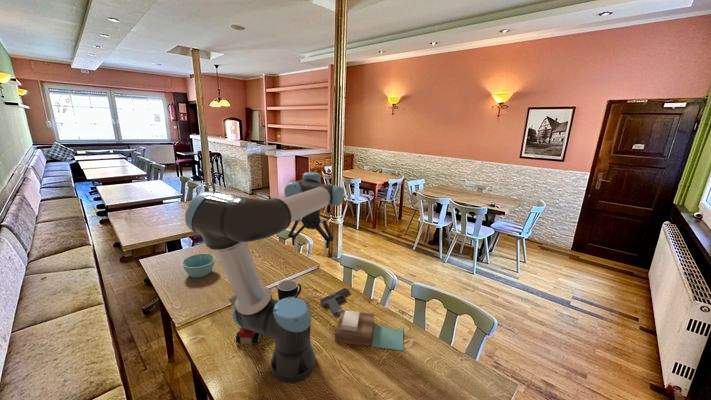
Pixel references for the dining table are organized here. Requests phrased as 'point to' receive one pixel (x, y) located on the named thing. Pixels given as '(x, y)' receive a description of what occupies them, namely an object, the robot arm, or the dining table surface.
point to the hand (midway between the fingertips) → (310, 253)
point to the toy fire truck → (245, 331)
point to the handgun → (334, 301)
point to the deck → (356, 337)
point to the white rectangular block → (350, 320)
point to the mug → (288, 289)
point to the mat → (387, 338)
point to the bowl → (198, 265)
